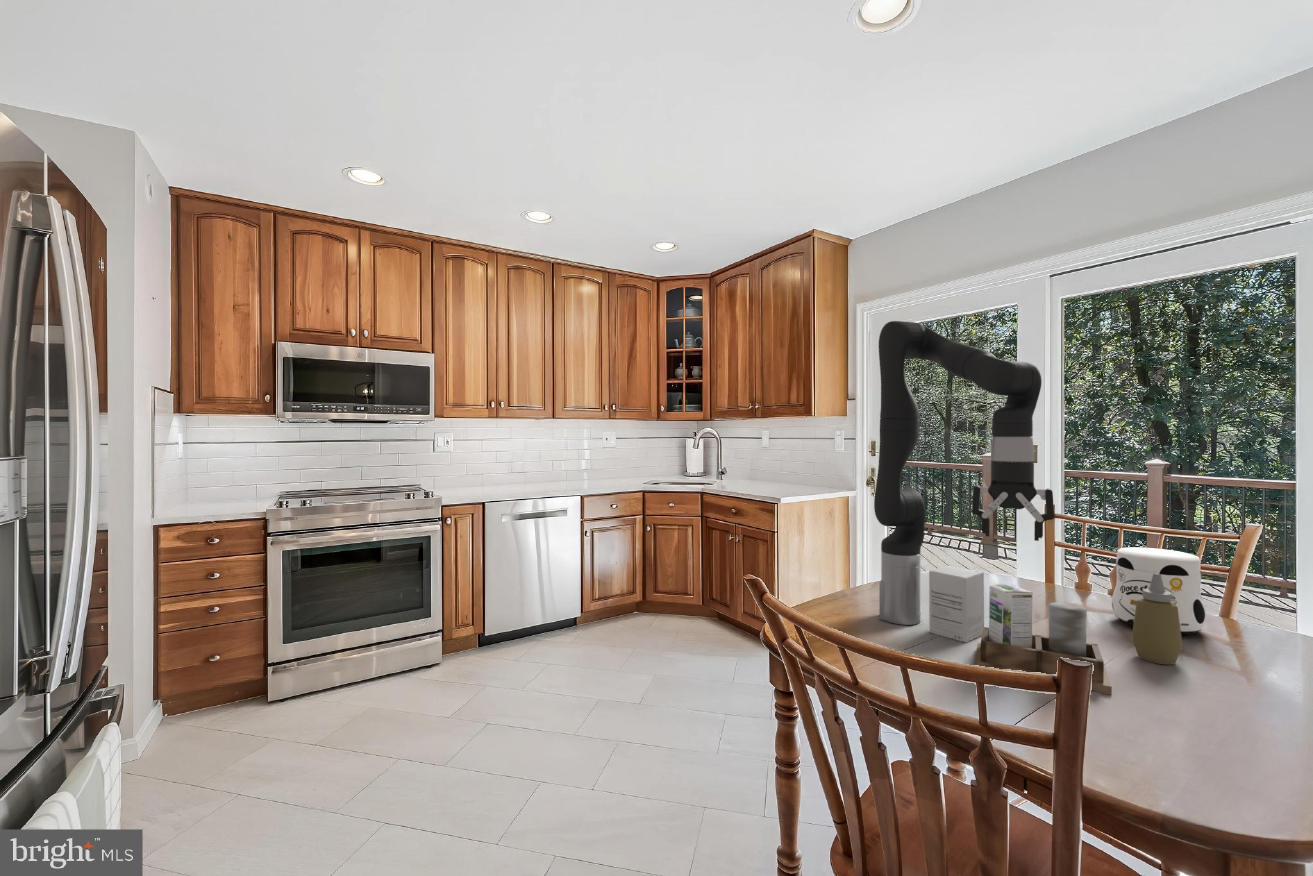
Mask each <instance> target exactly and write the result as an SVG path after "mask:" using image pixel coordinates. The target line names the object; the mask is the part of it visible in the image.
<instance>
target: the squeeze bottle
mask: <svg viewBox="0 0 1313 876" xmlns="http://www.w3.org/2000/svg"><path fill="white" fill-rule="evenodd" d="M1142 597H1143V598H1142V599H1140V600H1138V601H1137V603H1136V610H1135V617H1134V625H1133V626H1132V633H1131V640H1132V642H1133V645H1134V649H1135V651H1136V654H1137V656H1138V657H1139V658H1140V659H1142V660H1144V661H1146V662H1149V663H1155V664H1160V665H1174V664H1176V662H1177V660H1178V659H1179V658H1178V657H1179V656H1180V653H1181V651H1182V650H1183V647H1184V646H1183V640H1182V634H1181V630H1180V622H1179V613H1178V607H1177V606H1176V605H1175V604H1173V603H1171V601H1172V594H1171V593H1170V592H1167V591H1165V588H1164V585H1163V581H1162V577H1161V574H1156V573H1154V574H1153V577H1152V580H1151V584H1150V587H1149V589H1143V590H1142Z"/></svg>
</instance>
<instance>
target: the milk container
mask: <svg viewBox="0 0 1313 876" xmlns="http://www.w3.org/2000/svg"><path fill="white" fill-rule="evenodd" d="M1115 562H1116V583H1115V584H1116V585H1115V588H1114V590H1113V593H1112V597H1111V606H1112V612H1113V614H1114V617H1116V618H1117V619H1118V620H1119V621H1121V622H1123V623H1125V624H1126V625H1129V626H1132V627H1133V625H1134V617H1135V610H1136V603H1137V601H1138V600H1140V599H1142V598H1143V597H1142V590H1143V589H1149V587H1150V584H1151V580H1152V577H1153V574H1154V573H1156V574H1161V577H1162V581H1163V585H1164V588H1165V591H1167V592H1170V593H1171V594H1172V601H1171V603H1173V604H1175V605H1176V606H1177V607H1178V613H1179V622H1180V630H1181V635H1186V634H1187V635H1188V634H1189V635H1190V634H1191V635H1192V634H1194V633H1198V632H1200V631H1202V630H1203V629H1204V627H1205V624H1206V619H1207V612H1206V611H1207V610H1206V606H1205V604H1204V602H1203V597H1202V595H1201V594H1202V591H1201V590H1202V589H1201V585H1202V573H1201V569H1202V568H1201V560H1200V557H1199V556H1197V555H1196V554H1193V553H1187V552H1183V551H1178V550H1170V549H1163V548H1152V547H1139V546H1138V547H1136V546H1135V547H1134V546H1133V547H1121V548H1118V549H1117V553H1116V559H1115Z"/></svg>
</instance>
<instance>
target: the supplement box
mask: <svg viewBox="0 0 1313 876" xmlns="http://www.w3.org/2000/svg"><path fill="white" fill-rule="evenodd" d="M928 572H929V573H928V577H929V578H928V581H929V582H928V583H929V584H928V587H929V588H928V589H929V591H928V594H929V602H928V603H929V604H928V605H929V606H928V607H929V609H928V610H929V614H928V616H929V619H928V621H929V623H928V624H929V627H928V629H929V633H931V634H934V635H938V636H942V637H945V638H948V639H952V638H953V639H952V640H955V641H959V640H960V641H959V642H962V641H963V642H962V643H968V642H971V641H973V640H975V639H976V638H979V637H982V632H983V627H985V577H984V572H983V571H979V570H974V569H968V568H964V567H963V568H962V567H958V566H954V565H946V566H942V567H937V568H935V569H931V570H929V571H928ZM974 638H975V639H974ZM970 640H971V641H970Z"/></svg>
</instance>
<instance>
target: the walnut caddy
mask: <svg viewBox="0 0 1313 876" xmlns="http://www.w3.org/2000/svg"><path fill="white" fill-rule="evenodd" d="M980 637H981V638H980V643H979V642H977V645H976V651H975V655H974V660H973V666H974V665H979V666H985V667H994V668H999V669H1011V670H1022V671H1026V672H1041V673H1046V674H1056V672H1057V660H1058V658H1060V657H1063V658H1069V659H1071V660H1080V661H1087V662H1090V663H1093V665H1094V671H1093V674H1092V691H1091V692H1093V693H1094V692H1095V693H1100V694H1105V695H1110V696H1112V693H1113V691H1112V688H1113V687H1112V684H1111V681H1110V678H1109V675H1108V672H1107V669H1106V666H1105V662H1104V659H1103V656H1102V653H1101V650H1100V647H1099V645H1098V644H1097V643H1091V642H1087V608H1085V607H1084V606H1081V605H1078V604H1074V603H1068V602H1050V603H1048V636H1045V635H1040V634H1034V633H1032V649H1031V648H1025V647H1019V646H1013V645H1007V644H1001V643H995V642H989V626H988V627H987V626H984V627H983V632H982V635H981V636H980Z"/></svg>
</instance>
